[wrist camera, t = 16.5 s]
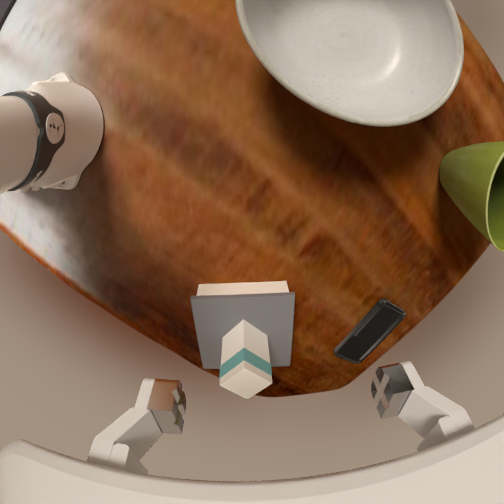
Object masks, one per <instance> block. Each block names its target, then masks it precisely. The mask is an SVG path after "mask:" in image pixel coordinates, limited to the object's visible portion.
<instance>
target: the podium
mask: <svg viewBox="0 0 504 504" xmlns="http://www.w3.org/2000/svg"><path fill="white" fill-rule="evenodd" d="M190 299H191V305H192V311H193V317H194V323H195V328H196V334H197V339H198V344H199V349H200V354H201V359H202V364H203V369H220V366H221V354H222V339H223V337H224V336H225V335H226V334H227V333H228V332H229V331H231V330H232V329H233V328H234V327H235V326H236V325H238V324H239V323H240V322H241V321H242V320H243V319H244V320H245V321H247V322H248V323H250V324H251V325H253V326H254V327H256V328H257V329H259V330H260V331H262V332H263V333H265V334H266V335H267V338H268V347H269V356H270V364H271V367H280V366H290V360H291V347H292V334H293V319H294V304H295V293H294V292H289V289H288V285H287V281H275V282H251V283H223V284H199V286H198V291H197V295H196V296H191V298H190Z"/></svg>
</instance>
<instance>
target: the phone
mask: <svg viewBox="0 0 504 504" xmlns="http://www.w3.org/2000/svg"><path fill="white" fill-rule="evenodd" d="M404 317H405V312H404V310H403V309H401V308H399V307H398V306H396V305H394V304H393V303H391V302H390V301H388V300H386V299H381V300H379V301H378V302H377V303H376V304H375V305H374V307H373V308H372V309H371V310H370V311H369V312H368V313H367V315H366V316H365V317H364V318H363V319H362V320H361V321H360V322H359V323H358V325H357V326H356V327H355V328H354V329H353V330H352V331H351V332H350V333H349V334H348V335H347V336H346V337H345V338H344V339H343V341H342V342H341V343H340V344H339V345H338V346H337V347H336V348H335V349H334V354H335V356H337V357H340V358H342V359H345V360H347V361H350V362H353V363H356V364H357V363H360V362H362V361H363V360H364V359H365V358H366V357H367V356H368V355H369V354H370V353H371V352H372V351H373V350H374V349H375V348H376V347H377V346H378V345H379V344H380V343H381V342H382V341H383V340H384V339H385V338H386V337H387V336H388V335H389V334H390V333H391V332H392V330H393V329H394V328H395V327H396V326H397V325H398V324H399V323H400V322H401V321H402V320H403V319H404Z"/></svg>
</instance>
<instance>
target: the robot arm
mask: <svg viewBox="0 0 504 504" xmlns="http://www.w3.org/2000/svg"><path fill="white" fill-rule="evenodd" d="M102 135H103V115H102V111H101V107H100V105H99V103H98V101H97V99H96V98H95V96H94V95H93V94H92V93H91V92H90V91H89V90H88V89H86V88H84V87H82V86H80V85H78V84H76V83H74V81H73V80H72V78H71V77H70V76H69V75H68V74H67V73H58V74H57V75H55V76H53V77H52V78H50V79H48V80H47V81H37V82H34V83H33V84H32V86H30V87H28V88H27V89H26V90H24V91H14V92H10V93H7V94H4V95H3V96H0V194H1V193H3V192H5V191H14V190H17V192H18V193H23V192H27V191H29V190H30V187H32V191H38V190H40V188H43V189H46V188H53V189H66V190H70V189H73V188H75V187H76V186H77V184H78V181H79V179H80V176H81V173H82V171H83V170H84V169H85V167H86V166H87V165H88V164H89V163H90V162H91V161H92V159H93V158H94V156H95V155H96V153H97V151H98V149H99V146H100V143H101V140H102ZM64 181H65V183H64ZM376 375H377V377H376V378H374V379H373V382H372V385H371V392H372V396H373V399H374V400H375V401H377V402H378V405H377V410H378V412H379V415H380V418H381V419H383V418H388V417H393V416H397V415H398V417H400V418H401V419H402V420H403V421H404V422H405V423H406V424H408V425H409V426H410V427H411V428H412V429H413V430H415V431H416V432H417V433H418V434H420V435H421V436H422V437H423V438H424V440H423V441H422V442H421V443H420V445H419V446H418V448H417V450H418V452H415V453H412V454H409V455H406V456H403V457H399V458H396V459H393V460H389V461H385V462H382V463H378V464H374V465H370V466H366V467H361V468H357V469H352V470H347V471H341V472H336V473H330V474H324V475H317V476H310V477H301V478H292V479H281V480H266V481H206V480H190V479H179V478H169V477H161V476H153V475H147V474H148V471H147V469H146V468H145V467H144V466H143V465H142V463H141V462H140V461H139V460H140V459H141V458H142V457H143V456H144V454H145V453H146V452H147V451H148V450H149V449H150V448H151V447H152V446H153V444H154V443H155V442H156V441H157V440H158V439H159V438H160V436H161V435H162V433H169V434H182V430H183V424H184V420H183V418H182V415H183V414H185V410H186V398H185V394H184V392H183V391H182V390H181V389H182V384H181V381H179V380H165V379H152V378H144V380H143V381H142V384H141V387H140V391H139V394H138V397H137V401H136V404H135V407H134V408H130V409H129V410H128V411H127V412H125V413H124V414H123V415H122V416H121V417H119V418H118V419H117V420H116V421H115V422H113V423H112V424H111V425H109V426H108V427H107V428H106V429H105V430H104V431H102V432H101V433H100V434H98V435H97V436H96V437H95V438H94V441H93V444H92V447H91V450H90V453H89V456H88V459H87V461H83V460H79V459H76V458H73V457H70V456H66V455H63V454H60V453H57V452H55V451H52V450H49V449H46V448H43V447H41V446H38V445H36V444H33V443H31V442H28V441H26V440H22V439H21V440H17V441H14V442H12V443H10V444H9V445H7V446H5V447H4V448H2V449H0V504H504V414H502V415H500V416H499V417H497V418H495V419H493V420H491V421H489V422H487V423H485V424H483V425H481V426H479V427H477V428H475V427H474V425H473V424H472V422H471V420H470V418H469V416H468V414H467V412H466V410H465V409H464V408H463V407H461V406H459V405H458V404H456V403H454V402H453V401H451V400H449V399H447V398H446V397H444V396H443V395H441V394H439V393H438V392H436V391H434V390H433V389H431V388H429V387H428V386H427V387H425V386H424V384H423V383H422V381H421V379H420V377H419V375H418V373H417V372H416V370H415V368H414V366H413V365H412V363H411V362H410V361H407V362H402V363H396V364H391V365H387V366H382V367H379V368H378V369H377V370H376Z"/></svg>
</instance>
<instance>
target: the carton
mask: <svg viewBox="0 0 504 504" xmlns="http://www.w3.org/2000/svg"><path fill="white" fill-rule="evenodd" d="M219 378H220V386H222V387H223V388H226V389H227V390H229V391H231V392H233V393H235V394H237V395H239V396H241V397H243V398H245V399H249V398H250V397H252V396H254V395H255V394H257V393H258V392H260V391H261V390H263V389H264V388H266V387H267V386H269V385H270V384H272V370H271V364H270V356H269V347H268V338H267V335H266V334H265V333H263V332H262V331H260V330H259V329H257V328H256V327H254V326H253V325H251V324H250V323H248V322H247V321H245V320H244V319H243V320H242V321H241V322H240V323H239V324H238V325H236V326H235V327H234V328H233V329H232V330H231V331H229V332H228V333H227V334H226V335H225V336H224V337H223V339H222V354H221V366H220V376H219Z"/></svg>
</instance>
